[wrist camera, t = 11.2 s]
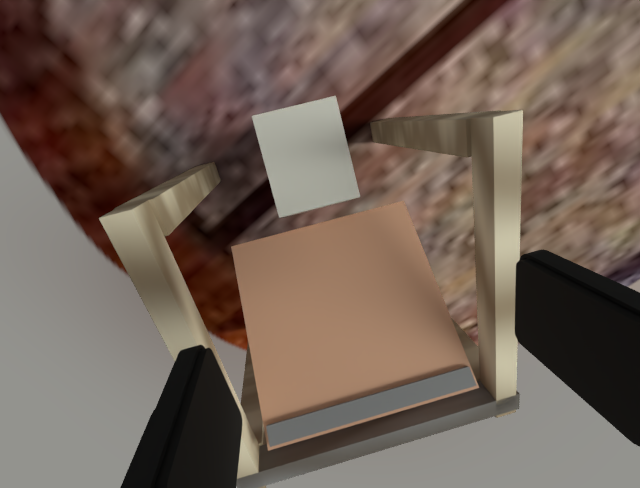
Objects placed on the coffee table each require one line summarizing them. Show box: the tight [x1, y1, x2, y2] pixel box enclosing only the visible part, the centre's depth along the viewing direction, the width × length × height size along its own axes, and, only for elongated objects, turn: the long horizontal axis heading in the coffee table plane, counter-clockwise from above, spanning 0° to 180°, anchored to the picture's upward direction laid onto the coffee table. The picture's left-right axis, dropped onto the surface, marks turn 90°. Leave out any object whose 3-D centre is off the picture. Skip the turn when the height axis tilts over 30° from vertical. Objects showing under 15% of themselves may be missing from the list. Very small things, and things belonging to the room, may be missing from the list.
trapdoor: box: [231, 201, 479, 451], centre depth 19 cm, size 12×12×1 cm
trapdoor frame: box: [99, 110, 523, 488], centre depth 22 cm, size 17×17×16 cm
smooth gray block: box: [252, 96, 360, 218], centre depth 21 cm, size 5×5×6 cm
